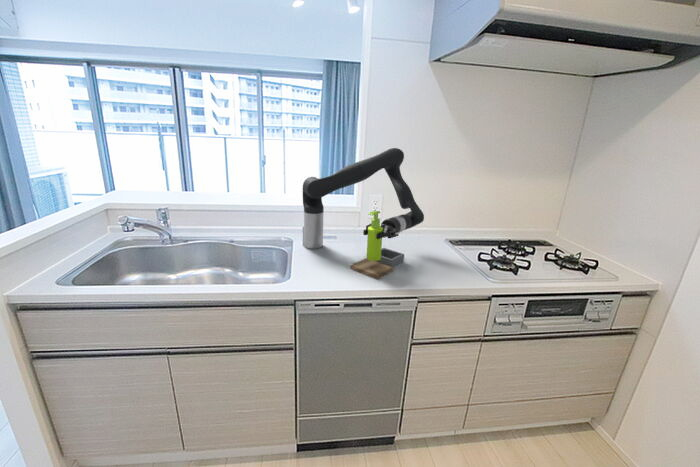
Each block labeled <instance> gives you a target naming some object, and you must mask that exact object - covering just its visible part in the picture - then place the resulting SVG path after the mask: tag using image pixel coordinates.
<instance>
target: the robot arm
mask: <svg viewBox="0 0 700 467" xmlns="http://www.w3.org/2000/svg"><path fill="white" fill-rule="evenodd" d="M404 159H405V153H404V151H403V150H402V149H400V148H397V147H392V148H389V149H387V150H384V151H382V152H381V153H379V154H376V155H374V156H371V157H367V158H366V159H362V160H360V161H357V162H354V163H351V164H348V165H346V166H344V167H342V168H341V169H339V170H337V171H336V172H335V173H334V174H331V175H328V176H325V177H320V178H317V177H316V176H309V177H307V178H305V180H304V181H303V184H302V205H303V225H302V245H303V246H304V248H307V249H311V250H315V249H321V248H322V247H323V246H324V211H325V210H324V204H323V200H322V199H323V197H326V196H327V195H330V194H331V193H333V192H335V191H338V190H340V189H343V188H347V187H349V186H352V185H355V184H358V183H361V182H363V181H366V180H367V179H368V178H370V177H372V176H373V175H375V174H376V173H378V171H381V170H382V169H384V170H385V173H386V174H387V177H389V180H390V182H391V184H392V187H393V188H394V191H395V194H396V196H397V200H398V203H399V205H400V207H401V209H404V210H407V209H408V210H409V209H410V211H409V212H407V213H405V214H403V213H402V214H399V215H396V216H392V217H389V218H385V219H383V221H382V222H380V227H382V228H383V231H382V232H380V233H377V237H376V238H377V239H380V238H382V239H383V238H387V239H392V238H395V237H399V236H400V235H399V234H400V233H402V232H403V231H406V230H409V229H411V228H414V227H416V226H418V225H419V224H421V223H423V221H425V213H424V212H423V211H422V209H421V207H419V205H418V204H417V202H416V201H415V199H414V195H413V193H412V192H413V191H412V190H411V188H410V186H409V185H408V183H407V182H406V181H405V180H404V178H403V176H402V174H401V165H402V163H403V162H404ZM370 226H371V223H369V224H367V225H366V226H365V229H363V232H362V233H363V235H364V236H368V227H370Z"/></svg>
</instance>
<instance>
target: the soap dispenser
mask: <svg viewBox="0 0 700 467" xmlns="http://www.w3.org/2000/svg"><path fill="white" fill-rule="evenodd" d="M379 214H381V211H378V210H372V211H369V212H368V216H369V215H370V216H373V218H371V223H370V224H371V226H370V227H368V235H367V239H366V240H367V241H366V258H367V259H368V260H370V261H378V260H380V259H381V249H382V248H383V247H382V245H383V244H382V243H383V242H382V241H383V238H380V239H377V238H376V237H377V233H380V232H382V231H383V228H382V227H380V224H381V219H380V218H379Z"/></svg>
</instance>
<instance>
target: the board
mask: <svg viewBox="0 0 700 467" xmlns="http://www.w3.org/2000/svg"><path fill="white" fill-rule="evenodd" d="M349 269H350V270H353V271H356V272H358V273H359V274H360V273H361V274H362V275H365V276H368V277H371V278H373V279H376V280H379V279H381V278H383V277H384V276H386V275H388V274H390V273H392V272H393V271H394V268H393V267H390V266H387V265H384V264H382V263H379V262H376V261H370V260H368V259H367V257H366V258H364V259H361V260H359V261H357V262H354V263H352V264H350V265H349Z"/></svg>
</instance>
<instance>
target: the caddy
mask: <svg viewBox="0 0 700 467" xmlns="http://www.w3.org/2000/svg"><path fill="white" fill-rule="evenodd" d="M376 262H379V263H382V264H384V265H387V266H390V267H393V269H394V268H396V267H398V266H400V265H402V264H404V262H405V253H403V252H399V251H395V250H392V249H389V248H386V247H381V259H380V260H378V261H376Z"/></svg>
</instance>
